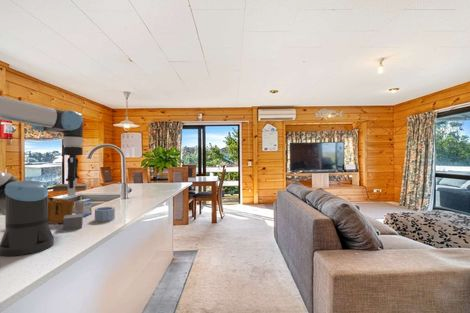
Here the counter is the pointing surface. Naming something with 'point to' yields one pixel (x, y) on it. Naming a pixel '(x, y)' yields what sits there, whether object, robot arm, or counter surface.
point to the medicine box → (83, 207)
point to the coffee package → (58, 209)
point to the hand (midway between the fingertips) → (72, 193)
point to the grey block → (72, 221)
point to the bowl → (104, 214)
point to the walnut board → (65, 187)
